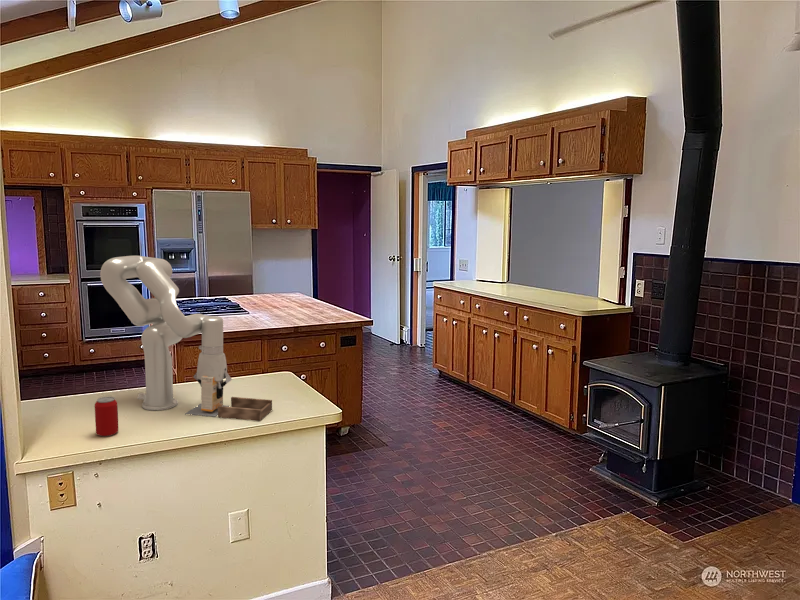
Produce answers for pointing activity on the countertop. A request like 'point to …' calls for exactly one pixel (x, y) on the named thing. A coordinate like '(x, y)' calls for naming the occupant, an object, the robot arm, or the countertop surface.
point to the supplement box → (209, 394)
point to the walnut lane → (246, 409)
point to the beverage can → (106, 416)
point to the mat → (204, 413)
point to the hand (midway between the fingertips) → (212, 396)
